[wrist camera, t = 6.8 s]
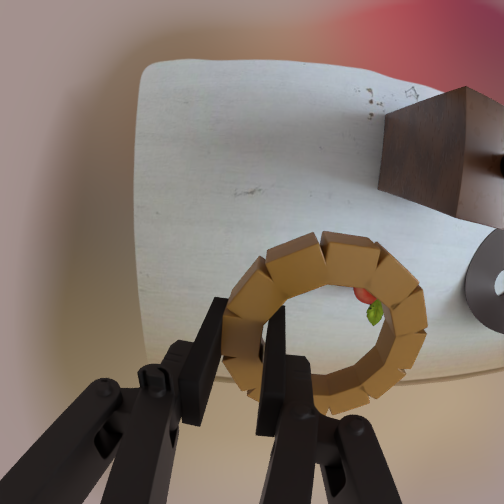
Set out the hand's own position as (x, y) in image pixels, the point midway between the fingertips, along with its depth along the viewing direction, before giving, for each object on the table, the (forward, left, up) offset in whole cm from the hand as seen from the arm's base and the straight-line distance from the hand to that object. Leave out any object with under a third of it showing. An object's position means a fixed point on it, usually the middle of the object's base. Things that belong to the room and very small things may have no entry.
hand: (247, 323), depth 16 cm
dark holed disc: (+3, +51, -30) cm, 59 cm away
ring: (0, +4, 0) cm, 4 cm away
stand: (-13, +22, -30) cm, 39 cm away
